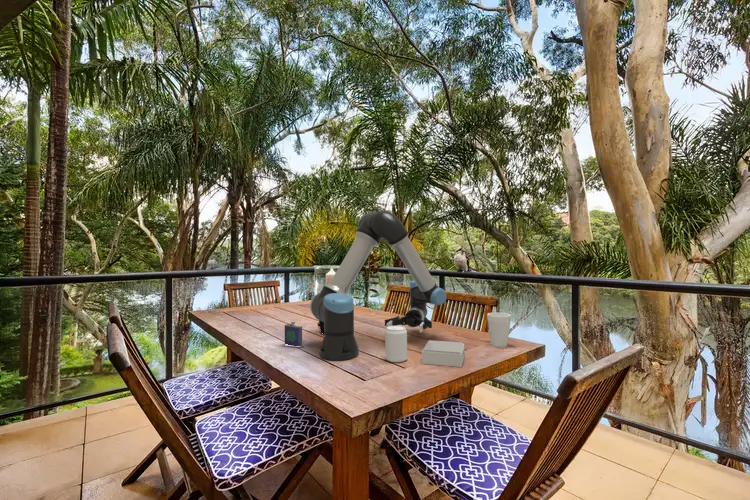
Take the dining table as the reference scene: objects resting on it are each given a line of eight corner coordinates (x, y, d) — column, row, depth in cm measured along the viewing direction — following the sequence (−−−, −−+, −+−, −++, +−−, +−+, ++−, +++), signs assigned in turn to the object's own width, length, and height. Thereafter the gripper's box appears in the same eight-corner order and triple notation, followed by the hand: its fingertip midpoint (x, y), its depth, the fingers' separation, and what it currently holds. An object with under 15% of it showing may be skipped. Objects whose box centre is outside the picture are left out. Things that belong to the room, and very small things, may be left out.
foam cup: (486, 347, 153) (486, 315, 153) (488, 341, 162) (488, 312, 162) (510, 349, 150) (510, 317, 149) (511, 343, 158) (511, 313, 158)
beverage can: (405, 363, 134) (405, 330, 133) (383, 362, 135) (383, 329, 135) (408, 356, 141) (408, 325, 141) (387, 355, 143) (387, 325, 143)
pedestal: (421, 363, 133) (421, 349, 133) (428, 352, 147) (428, 340, 147) (461, 367, 129) (461, 352, 129) (464, 355, 143) (464, 342, 142)
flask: (303, 346, 157) (303, 321, 157) (299, 348, 155) (298, 323, 154) (287, 344, 162) (286, 319, 162) (282, 345, 159) (282, 321, 159)
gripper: (441, 326, 165) (434, 339, 145) (388, 324, 173) (374, 335, 152) (441, 309, 165) (434, 320, 145) (387, 308, 173) (373, 317, 152)
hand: (403, 328), depth 149 cm, fingers open, 13 cm apart
